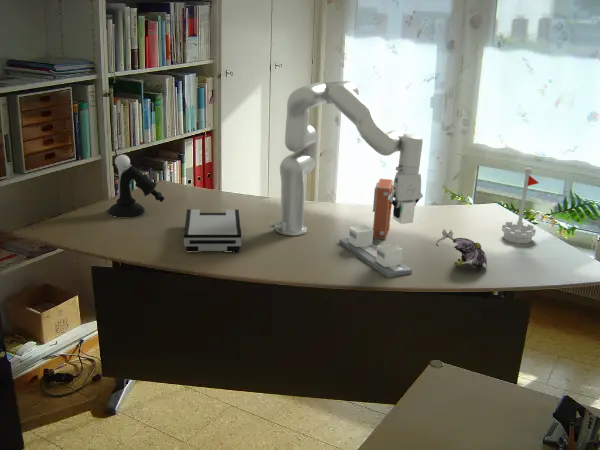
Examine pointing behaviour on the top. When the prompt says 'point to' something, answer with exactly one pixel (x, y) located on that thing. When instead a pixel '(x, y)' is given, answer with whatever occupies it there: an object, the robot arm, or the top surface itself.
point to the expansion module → (406, 212)
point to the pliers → (446, 236)
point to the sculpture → (126, 202)
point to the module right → (389, 255)
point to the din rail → (373, 253)
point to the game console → (212, 231)
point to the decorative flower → (470, 252)
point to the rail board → (374, 260)
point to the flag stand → (520, 231)
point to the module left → (360, 236)
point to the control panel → (382, 208)
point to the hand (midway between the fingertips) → (403, 215)
